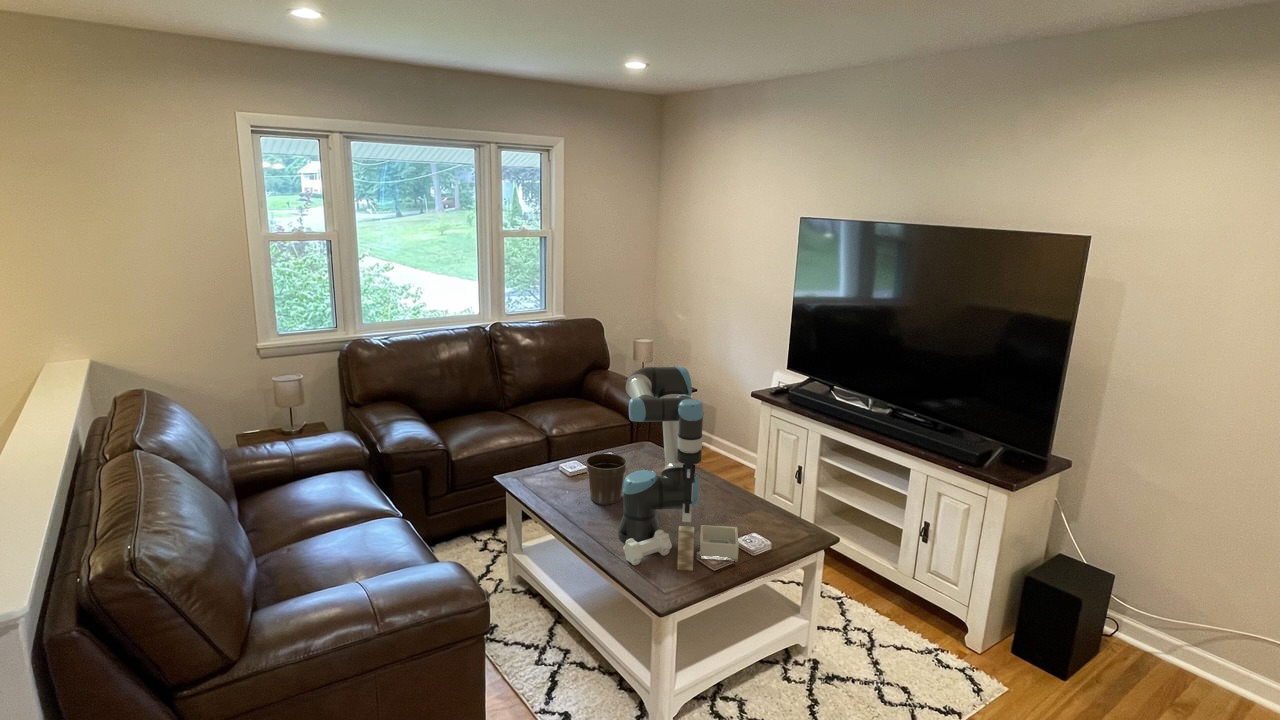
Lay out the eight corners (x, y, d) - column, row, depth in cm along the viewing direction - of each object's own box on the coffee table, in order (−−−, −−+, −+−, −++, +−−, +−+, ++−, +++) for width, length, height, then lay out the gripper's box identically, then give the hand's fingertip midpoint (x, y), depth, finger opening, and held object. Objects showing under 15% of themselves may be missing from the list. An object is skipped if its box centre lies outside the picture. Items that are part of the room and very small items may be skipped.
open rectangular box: (699, 559, 224) (700, 543, 223) (700, 540, 237) (700, 524, 235) (737, 561, 223) (738, 545, 222) (736, 542, 235) (737, 527, 234)
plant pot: (628, 490, 275) (629, 454, 271) (624, 508, 259) (624, 470, 255) (589, 488, 276) (589, 451, 272) (582, 506, 261) (582, 467, 257)
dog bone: (659, 547, 233) (658, 525, 231) (673, 556, 225) (673, 534, 224) (622, 560, 225) (621, 537, 223) (636, 569, 217) (635, 546, 216)
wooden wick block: (677, 569, 218) (678, 530, 215) (677, 564, 221) (679, 526, 218) (692, 570, 218) (694, 531, 214) (692, 565, 221) (694, 527, 217)
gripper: (701, 465, 197) (698, 530, 202) (701, 435, 221) (699, 494, 226) (675, 463, 197) (673, 529, 203) (679, 434, 222) (677, 493, 227)
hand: (687, 511), depth 214 cm, fingers open, 13 cm apart
